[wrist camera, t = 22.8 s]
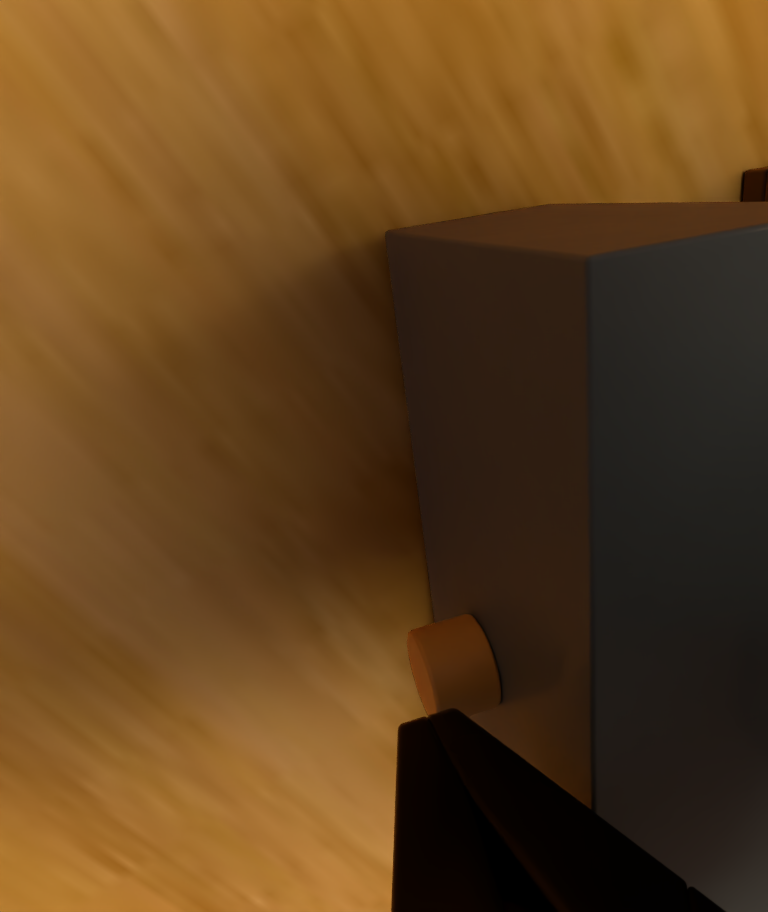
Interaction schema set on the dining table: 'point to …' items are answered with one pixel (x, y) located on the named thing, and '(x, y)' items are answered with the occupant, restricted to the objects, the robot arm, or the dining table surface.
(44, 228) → the dining table surface
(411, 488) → the dining table surface
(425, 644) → the drawer
